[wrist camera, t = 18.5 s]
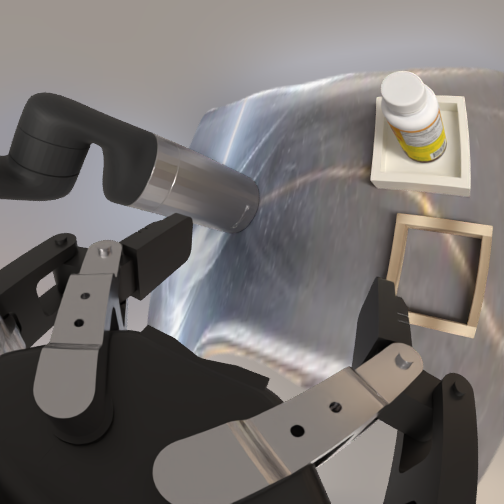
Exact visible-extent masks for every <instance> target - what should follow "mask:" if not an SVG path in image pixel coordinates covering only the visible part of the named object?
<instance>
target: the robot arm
mask: <svg viewBox="0 0 504 504" xmlns="http://www.w3.org/2000/svg"><path fill="white" fill-rule="evenodd" d="M91 143H95V144H97V145H99V146H100V147H102V150H103V155H104V169H103V191H104V195H105V197H106V198H107V199H108V200H110V201H111V202H114V203H117V204H121V205H125V206H129V207H133V208H137V209H140V210H144V211H148V212H152V213H156V214H160V215H163V216H167V218H165V219H163V220H160V221H157V222H153V223H151V224H149V225H147V226H146V227H145V228H142V229H141V230H139V231H138V232H135V233H134V234H132V235H130V236H129V237H127V238H125V239H124V240H122V241H121V242H119V243H118V242H116V241H113V240H103V241H98V242H96V243H94V244H92V245H91V246H90V247H89V248H83V247H78V246H77V241H76V236H75V235H73V234H70V233H62V234H58V235H55V236H53V237H51V238H49V239H48V240H46V241H44V242H43V243H41V244H40V245H38V246H36V247H34V248H33V249H31V250H30V251H28V252H27V253H25V254H23V255H22V256H20V257H19V258H17V259H16V260H14V261H13V262H11V263H10V264H8V265H7V266H5V267H4V268H2V269H1V270H0V504H331V502H330V500H329V498H328V496H327V493H326V491H325V489H324V486H323V484H322V482H321V479H320V477H319V475H318V472H317V470H316V468H318V467H319V466H321V465H322V464H324V463H325V462H327V461H328V460H329V459H331V458H332V457H333V456H335V455H336V454H337V453H338V452H339V451H341V450H342V449H343V448H345V447H346V446H347V445H349V444H350V443H351V442H352V441H353V440H355V439H356V438H357V437H359V436H360V435H361V434H362V433H363V432H365V431H366V430H367V429H368V428H369V427H371V426H372V425H373V424H374V423H375V422H377V421H378V420H381V421H383V422H385V423H386V424H388V425H390V426H392V427H393V428H395V429H397V430H398V431H397V439H396V445H395V452H394V457H393V462H392V468H391V473H390V477H389V483H388V486H387V491H386V495H385V499H384V502H383V504H476V495H477V480H478V436H477V420H476V409H475V399H474V392H473V389H472V386H471V385H470V383H469V382H468V381H467V380H466V379H465V378H464V377H463V376H461V375H459V374H456V373H449V374H447V375H446V376H445V377H444V378H443V379H442V380H439V379H438V378H436V377H434V376H432V375H431V374H429V373H427V372H426V371H424V370H423V360H422V358H421V356H420V355H419V353H418V352H417V351H416V350H415V349H413V348H412V340H411V331H410V325H409V323H410V322H409V318H408V316H409V315H408V307H407V306H406V304H405V302H404V301H403V299H402V298H401V297H398V296H396V294H395V285H394V282H392V281H389V280H386V279H383V278H380V277H376V278H375V280H374V282H373V284H372V286H371V289H370V291H369V293H368V295H367V298H366V300H365V302H364V304H363V306H362V308H361V311H360V314H359V317H358V322H357V331H356V339H355V347H354V355H353V362H352V367H346V368H344V369H343V370H341V371H339V372H338V373H336V374H334V375H333V376H331V377H329V378H328V379H326V380H324V381H322V382H321V383H319V384H317V385H315V386H314V387H312V388H310V389H308V390H306V391H305V392H303V393H301V394H299V395H297V396H295V397H294V398H292V399H290V400H288V401H286V402H283V401H282V400H281V399H280V398H279V397H278V396H277V395H276V394H274V393H273V392H272V391H270V390H269V389H267V388H266V387H267V385H268V381H269V378H268V377H265V376H262V375H260V374H257V373H254V372H252V371H249V370H247V369H244V368H242V367H239V366H236V365H231V364H225V363H221V362H216V361H211V360H206V359H202V358H200V357H198V356H197V355H195V354H194V353H193V352H191V351H190V350H189V349H188V348H186V347H185V346H184V345H183V344H181V343H180V342H179V341H178V340H176V339H175V338H173V337H171V336H169V335H167V334H165V333H163V332H161V331H159V330H157V329H155V328H153V327H151V326H149V325H147V326H146V327H145V328H144V330H143V331H142V332H138V331H132V330H127V314H128V299H127V298H128V297H129V296H132V297H135V298H137V299H138V300H142V299H143V298H145V297H146V296H147V295H148V294H149V293H150V292H151V291H153V290H154V289H155V288H156V287H157V286H158V285H159V284H161V283H162V282H163V281H164V280H165V279H166V278H168V277H169V276H170V275H171V274H172V273H173V272H174V271H176V270H177V269H178V268H179V267H180V266H181V265H183V264H184V263H185V262H186V261H187V260H188V258H189V256H190V253H191V245H192V229H193V224H197V225H200V226H204V227H208V228H211V229H215V230H218V231H222V232H226V233H232V234H233V233H237V232H240V231H242V230H243V229H244V228H246V227H247V226H248V225H249V223H250V222H251V221H252V219H253V218H254V216H255V214H256V211H257V208H258V204H259V191H258V187H257V185H256V183H255V182H254V181H253V180H252V179H251V178H249V177H247V176H245V175H243V174H241V173H239V172H237V171H235V170H233V169H231V168H229V167H227V166H225V165H223V164H221V163H219V162H217V161H215V160H212V159H210V158H208V157H206V156H204V155H202V154H199V153H197V152H195V151H193V150H191V149H188V148H186V147H184V146H182V145H179V144H177V143H175V142H172V141H170V140H167V139H165V138H163V137H160V136H158V135H156V134H153V133H151V132H148V131H146V130H143V129H141V128H138V127H136V126H133V125H131V124H128V123H126V122H123V121H121V120H118V119H116V118H113V117H111V116H108V115H106V114H104V113H102V112H99V111H97V110H95V109H92V108H90V107H88V106H86V105H83V104H81V103H79V102H76V101H74V100H72V99H69V98H66V97H64V96H61V95H57V94H52V93H38V94H35V95H33V96H31V97H30V98H29V99H28V101H27V103H26V105H25V107H24V109H23V112H22V115H21V117H20V120H19V123H18V126H17V129H16V132H15V135H14V138H13V141H12V144H11V147H10V151H9V154H8V155H6V156H0V199H11V200H29V201H47V200H55V199H59V198H62V197H64V196H66V195H67V194H69V192H70V191H71V190H72V188H73V186H74V184H75V182H76V180H77V177H78V175H79V173H80V170H81V167H82V165H83V162H84V160H85V157H86V155H87V153H88V150H89V148H90V145H91ZM52 271H53V274H54V278H55V282H56V285H55V286H53V287H52V288H51V289H50V290H48V291H47V292H46V293H45V294H43V295H42V296H41V297H39V298H38V295H37V291H36V287H37V284H38V282H39V281H40V280H41V279H42V278H44V277H45V276H46V275H48V274H49V273H50V272H52ZM52 326H54V328H53V331H52V335H51V339H50V342H49V343H48V344H47V345H42V346H37V347H31V346H32V345H33V344H34V343H35V342H36V341H37V340H38V339H39V338H40V337H42V335H44V334H45V333H46V332H47V331H48V330H49V329H50V328H51V327H52ZM30 347H31V348H30Z"/></svg>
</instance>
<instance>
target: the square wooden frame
mask: <svg viewBox="0 0 504 504" xmlns="http://www.w3.org/2000/svg"><path fill="white" fill-rule="evenodd" d="M408 228H412V229H419V230H427V231H434V232H440V233H447V234H454V235H460V236H466V237H472V238H478V239H481V249H480V257H479V264H478V271H477V278H476V283H475V289H474V294H473V299H472V304H471V308H470V313H469V317H468V321H467V324H464V323H459V322H455V321H450V320H446V319H441V318H437V317H433V316H428V315H424V314H419V313H415V312H411V311H408V315H409V316H408V318H409V322H410V324H414V325H418V326H422V327H427V328H431V329H435V330H439V331H444V332H448V333H452V334H457V335H461V336H465V337H470V338H474V335H475V332H476V328H477V324H478V320H479V316H480V311H481V307H482V302H483V297H484V292H485V286H486V281H487V274H488V268H489V260H490V251H491V241H492V229H493V226H488V225H481V224H475V223H469V222H462V221H455V220H448V219H441V218H433V217H425V216H417V215H409V214H400V213H397V219H396V226H395V233H394V240H393V246H392V252H391V258H390V263H389V268H388V273H387V278H386V280H389V281H392V282H394V285H395V294H397V289H398V284H399V279H400V274H401V269H402V264H403V258H404V252H405V246H406V240H407V233H408Z"/></svg>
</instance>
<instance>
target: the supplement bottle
mask: <svg viewBox="0 0 504 504" xmlns="http://www.w3.org/2000/svg"><path fill="white" fill-rule="evenodd" d="M381 94H382V96H383V97H382V101H381V108H382V112H383V115H384V117H385V118H386V120H387V122H388V124H389V125H390V127H391V129H392V131H393V132H394V134H395V136H396V138H397V140H398V142H399V144H400V145H401V147H402V149H403V151H404V153H405V154H406V155H407V156H408V157H409V158H410V159H411V160H413V161H415V162H417V163H421V164H430V163H433V162H436V161H437V160H439V159H440V158H441V157H442V156H443V155H444V153H445V151H446V148H447V138H446V133H445V128H444V124H443V120H442V116H441V112H440V108H439V104H438V100H437V98H436V95H435V94H434V92H433V91H432V90H431V89H430V88H429V87H428V86H427V85H425V84H423V82H422V80H421V79H420V78H419V77H418V76H417V75H415V74H414V73H411V72H408V71H398V72H394V73H392V74H390V75H388V76H387V77H386V78H385V79H384V80H383V82H382V84H381Z"/></svg>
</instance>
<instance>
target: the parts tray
mask: <svg viewBox="0 0 504 504" xmlns="http://www.w3.org/2000/svg"><path fill="white" fill-rule="evenodd" d="M436 98H437V100H438V104H439V108H440V112H441V116H442V120H443V124H444V128H445V133H446V138H447V148H446V151H445V153H444V155H443V156H442V157H441V158H440V159H439V160H437V161H436V162H433V163H430V164H421V163H417V162H415V161H413V160H411V159H410V158H409V157H408V156H407V155H406V154H405V153H404V151H403V149H402V147H401V145H400V144H399V142H398V140H397V138H396V136H395V134H394V132H393V131H392V129H391V127H390V125H389V124H388V122H387V120H386V118H385V117H384V115H383V112H382V108H381V101H382V97H377V103H376V123H375V138H374V150H373V161H372V170H371V179H370V180H371V182H372V183H373V184H374V185H375V186H376V187H377V188H382V189H396V190H408V191H419V192H429V193H439V194H448V195H456V196H464V197H470V147H469V133H468V123H467V114H466V106H465V99H464V97H461V96H436Z"/></svg>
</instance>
